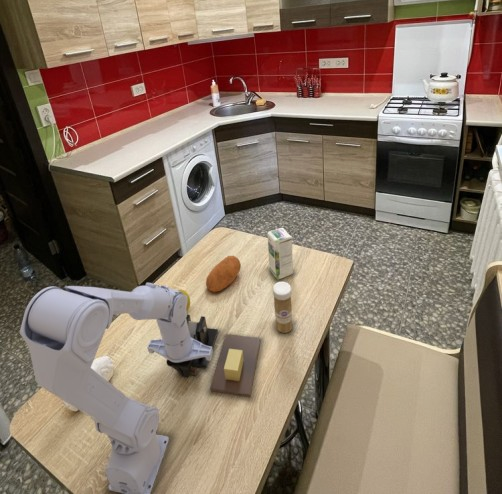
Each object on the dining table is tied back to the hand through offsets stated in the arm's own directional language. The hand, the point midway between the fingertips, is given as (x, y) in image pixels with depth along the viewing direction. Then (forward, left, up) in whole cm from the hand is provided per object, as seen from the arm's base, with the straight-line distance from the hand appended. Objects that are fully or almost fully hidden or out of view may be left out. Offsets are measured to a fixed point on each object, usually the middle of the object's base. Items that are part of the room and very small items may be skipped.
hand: (186, 373), depth 80 cm
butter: (+3, -11, 0) cm, 11 cm away
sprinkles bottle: (+17, -21, -2) cm, 27 cm away
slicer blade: (+5, 0, +2) cm, 6 cm away
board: (+5, -11, -1) cm, 12 cm away
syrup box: (+37, -18, -2) cm, 41 cm away
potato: (+31, -1, -2) cm, 31 cm away
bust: (-6, +21, -2) cm, 22 cm away
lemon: (+18, +8, -2) cm, 19 cm away
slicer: (+8, 0, -1) cm, 8 cm away
